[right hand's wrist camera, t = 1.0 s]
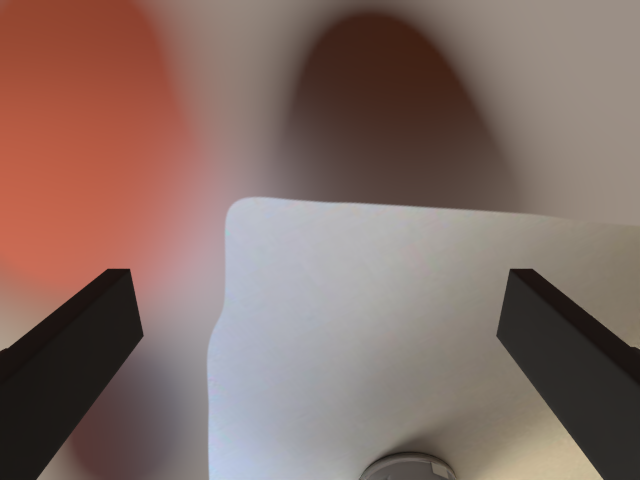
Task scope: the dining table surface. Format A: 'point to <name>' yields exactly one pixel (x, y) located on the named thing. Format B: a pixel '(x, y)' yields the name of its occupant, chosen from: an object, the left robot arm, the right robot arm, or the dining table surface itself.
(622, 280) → the dining table surface
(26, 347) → the right robot arm
